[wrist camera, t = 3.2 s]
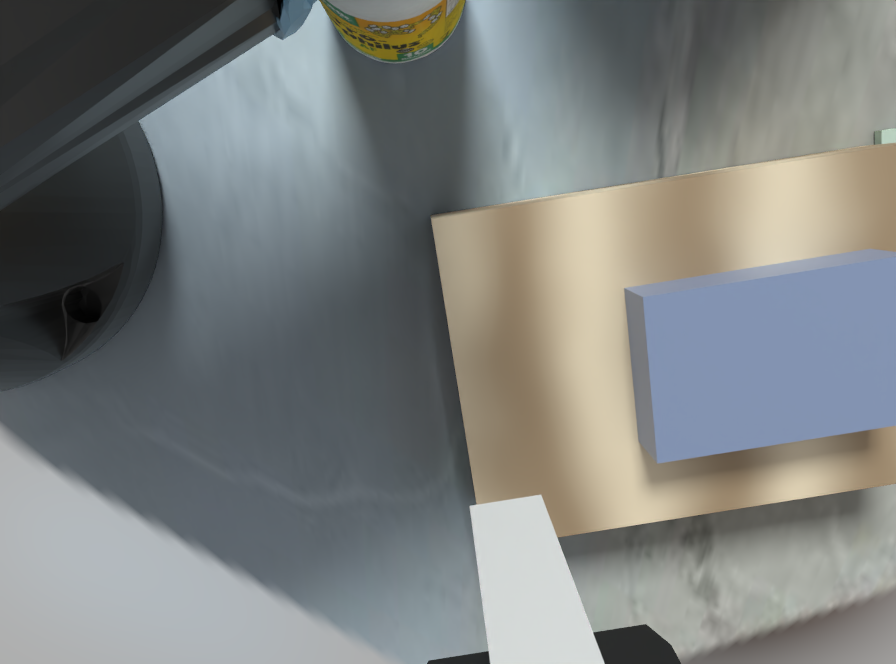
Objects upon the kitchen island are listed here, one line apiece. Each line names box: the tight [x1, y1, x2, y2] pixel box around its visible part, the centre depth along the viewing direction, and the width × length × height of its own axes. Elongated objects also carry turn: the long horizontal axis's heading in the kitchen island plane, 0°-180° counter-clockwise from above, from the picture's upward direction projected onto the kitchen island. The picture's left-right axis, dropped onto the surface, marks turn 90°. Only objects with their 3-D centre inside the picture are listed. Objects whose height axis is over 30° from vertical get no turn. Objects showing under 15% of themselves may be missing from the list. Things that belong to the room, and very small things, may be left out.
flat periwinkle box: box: [624, 249, 896, 464], centre depth 22 cm, size 9×6×2 cm, turn 99°
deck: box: [431, 143, 896, 537], centre depth 25 cm, size 18×13×4 cm
